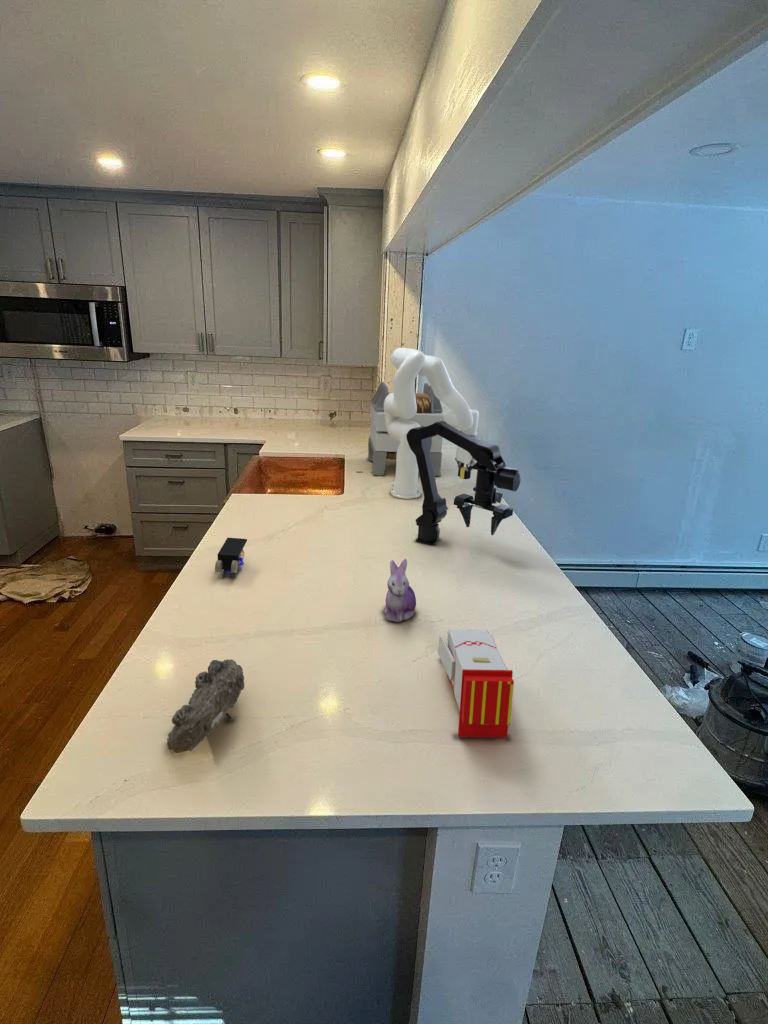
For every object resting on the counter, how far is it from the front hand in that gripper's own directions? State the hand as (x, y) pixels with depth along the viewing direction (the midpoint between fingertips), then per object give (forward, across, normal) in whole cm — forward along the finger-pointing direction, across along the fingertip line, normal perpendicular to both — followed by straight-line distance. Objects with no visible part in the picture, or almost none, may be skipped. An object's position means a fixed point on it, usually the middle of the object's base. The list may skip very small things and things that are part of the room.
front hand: (480, 530), depth 182 cm
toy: (+9, -37, +62) cm, 72 cm away
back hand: (+5, +47, -62) cm, 78 cm away
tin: (+5, +47, -62) cm, 78 cm away
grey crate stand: (+9, +85, -66) cm, 108 cm away
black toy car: (+9, +45, +63) cm, 78 cm away
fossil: (+9, -5, +103) cm, 103 cm away
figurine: (+9, -6, +48) cm, 49 cm away
